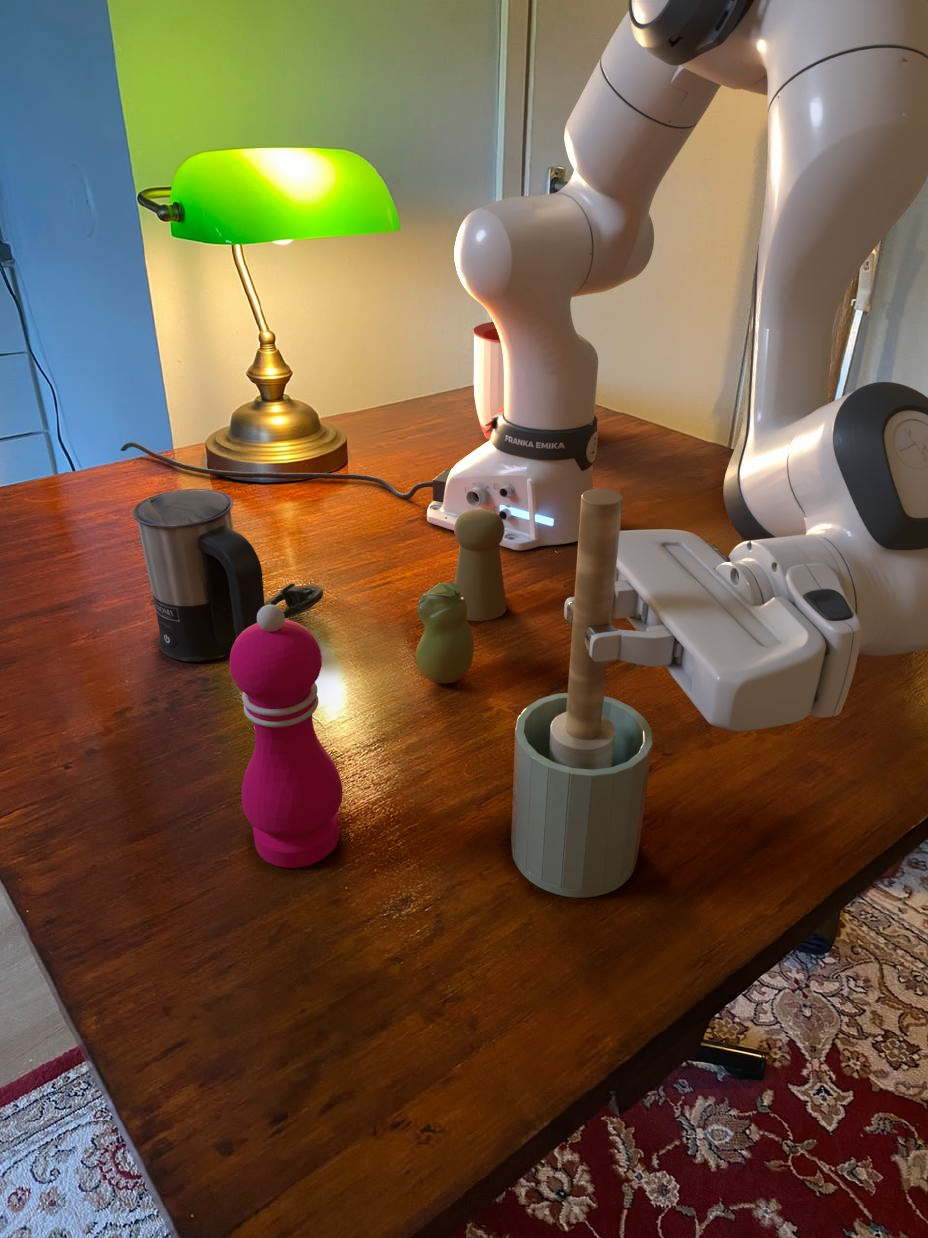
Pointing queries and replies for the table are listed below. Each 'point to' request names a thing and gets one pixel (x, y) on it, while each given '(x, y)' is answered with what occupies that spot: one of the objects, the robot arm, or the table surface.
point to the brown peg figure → (480, 564)
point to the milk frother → (204, 574)
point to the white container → (488, 373)
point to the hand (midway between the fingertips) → (577, 629)
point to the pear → (444, 635)
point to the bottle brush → (582, 727)
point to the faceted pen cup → (578, 804)
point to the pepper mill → (285, 743)
